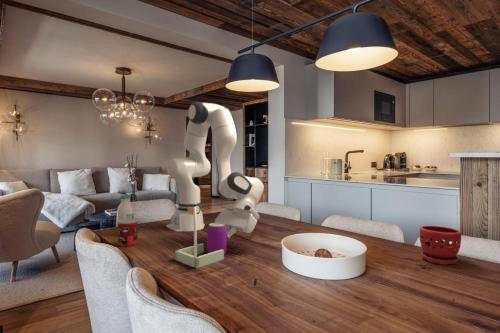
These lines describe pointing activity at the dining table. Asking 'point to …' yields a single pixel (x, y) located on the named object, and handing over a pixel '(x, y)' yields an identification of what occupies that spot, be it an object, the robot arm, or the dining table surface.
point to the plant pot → (440, 244)
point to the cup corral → (197, 250)
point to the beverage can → (216, 237)
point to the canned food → (127, 232)
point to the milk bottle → (125, 208)
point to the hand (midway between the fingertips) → (225, 237)
